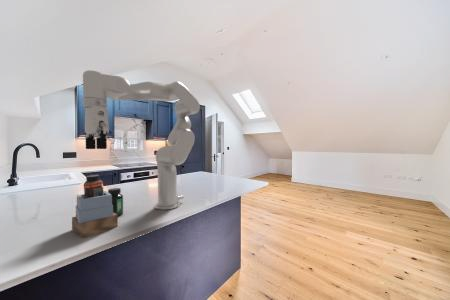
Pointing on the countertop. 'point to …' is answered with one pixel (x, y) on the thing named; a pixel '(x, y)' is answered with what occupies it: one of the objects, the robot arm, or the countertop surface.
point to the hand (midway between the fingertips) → (96, 148)
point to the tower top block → (93, 207)
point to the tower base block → (94, 225)
